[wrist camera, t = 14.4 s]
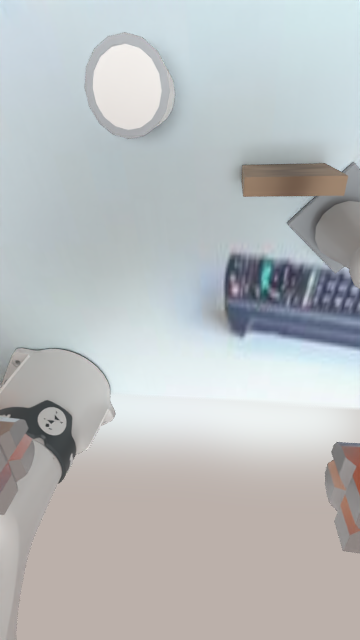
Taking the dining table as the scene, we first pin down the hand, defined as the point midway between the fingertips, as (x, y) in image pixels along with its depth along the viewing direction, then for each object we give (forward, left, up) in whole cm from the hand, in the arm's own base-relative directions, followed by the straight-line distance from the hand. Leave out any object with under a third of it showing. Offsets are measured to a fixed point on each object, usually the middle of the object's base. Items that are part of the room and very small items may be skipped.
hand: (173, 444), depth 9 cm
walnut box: (+6, -3, -32) cm, 33 cm away
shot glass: (+2, +12, -32) cm, 34 cm away
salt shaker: (+7, -11, -31) cm, 34 cm away
